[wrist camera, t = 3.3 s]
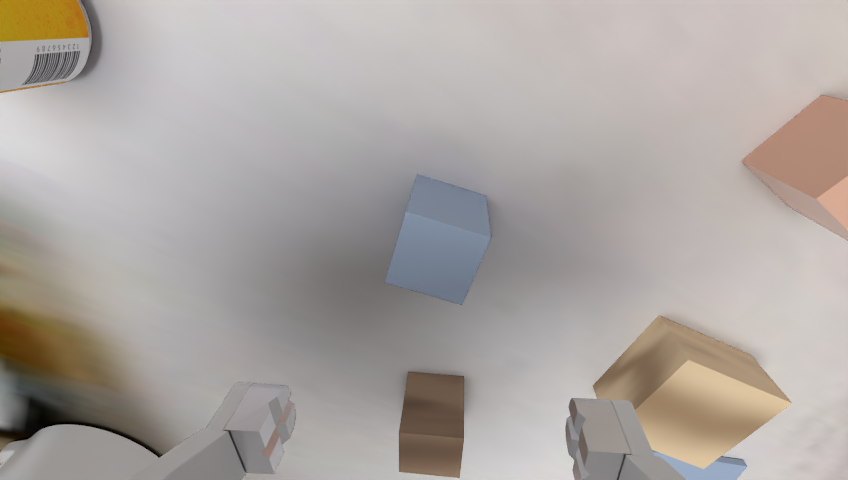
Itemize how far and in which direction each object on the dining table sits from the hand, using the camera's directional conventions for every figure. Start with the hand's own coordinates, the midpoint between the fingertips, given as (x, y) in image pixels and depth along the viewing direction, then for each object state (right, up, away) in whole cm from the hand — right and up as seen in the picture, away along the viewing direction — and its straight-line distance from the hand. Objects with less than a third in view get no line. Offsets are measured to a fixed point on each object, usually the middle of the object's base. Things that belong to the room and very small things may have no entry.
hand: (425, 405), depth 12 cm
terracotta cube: (+19, +9, +8) cm, 22 cm away
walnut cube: (+1, -7, +19) cm, 20 cm away
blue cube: (+1, +6, +12) cm, 13 cm away
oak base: (+16, -4, +16) cm, 23 cm away
